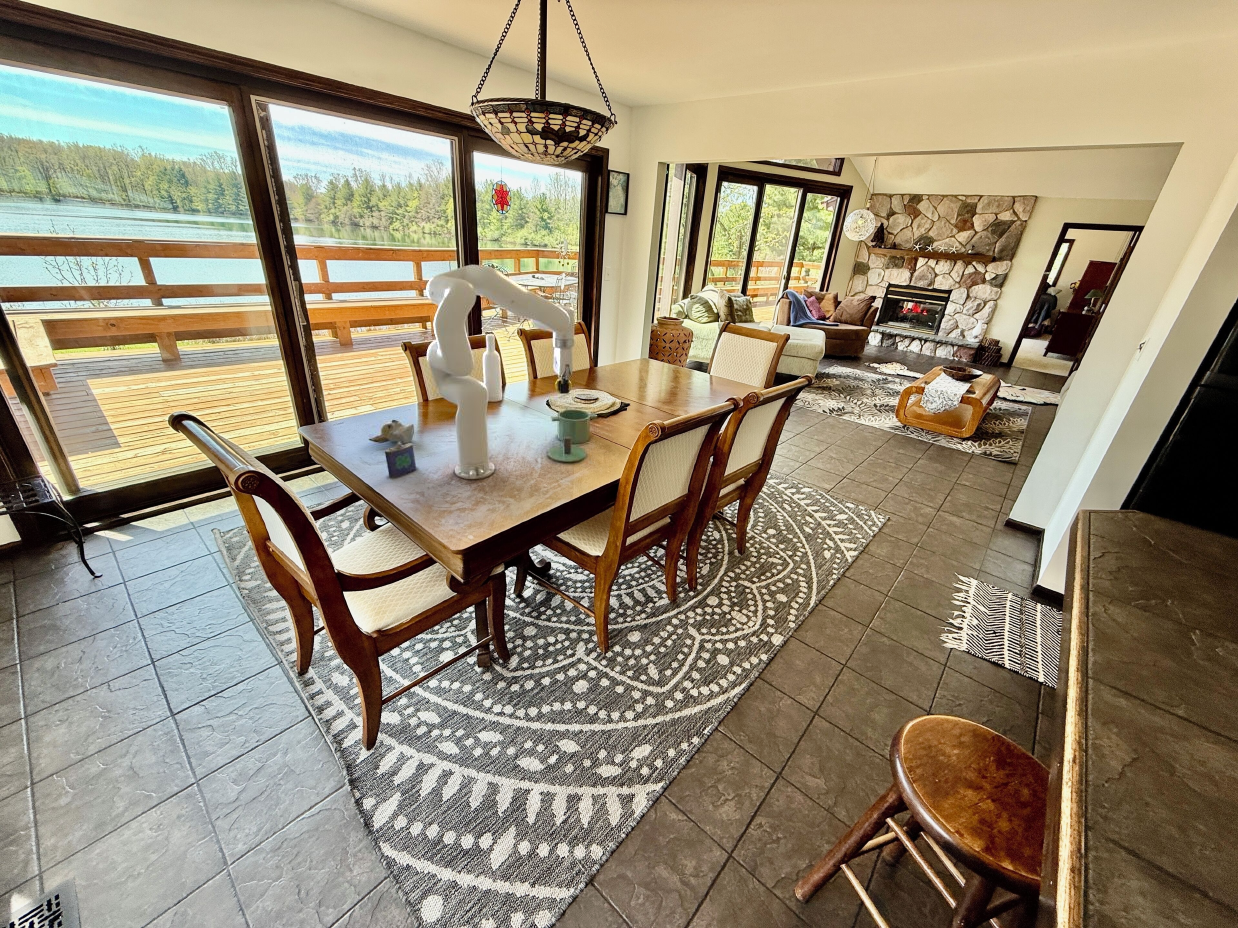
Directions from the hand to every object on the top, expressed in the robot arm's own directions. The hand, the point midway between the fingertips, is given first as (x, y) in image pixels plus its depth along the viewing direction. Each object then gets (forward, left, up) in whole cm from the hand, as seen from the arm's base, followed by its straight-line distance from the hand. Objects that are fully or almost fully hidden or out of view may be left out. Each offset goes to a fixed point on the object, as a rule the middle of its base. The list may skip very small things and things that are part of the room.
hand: (563, 391), depth 179 cm
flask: (-15, +57, -20) cm, 62 cm away
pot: (+2, -5, -19) cm, 20 cm away
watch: (0, 0, -1) cm, 1 cm away
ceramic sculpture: (+12, +60, -20) cm, 64 cm away
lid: (-14, +2, -19) cm, 24 cm away
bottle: (+55, +19, -20) cm, 61 cm away
